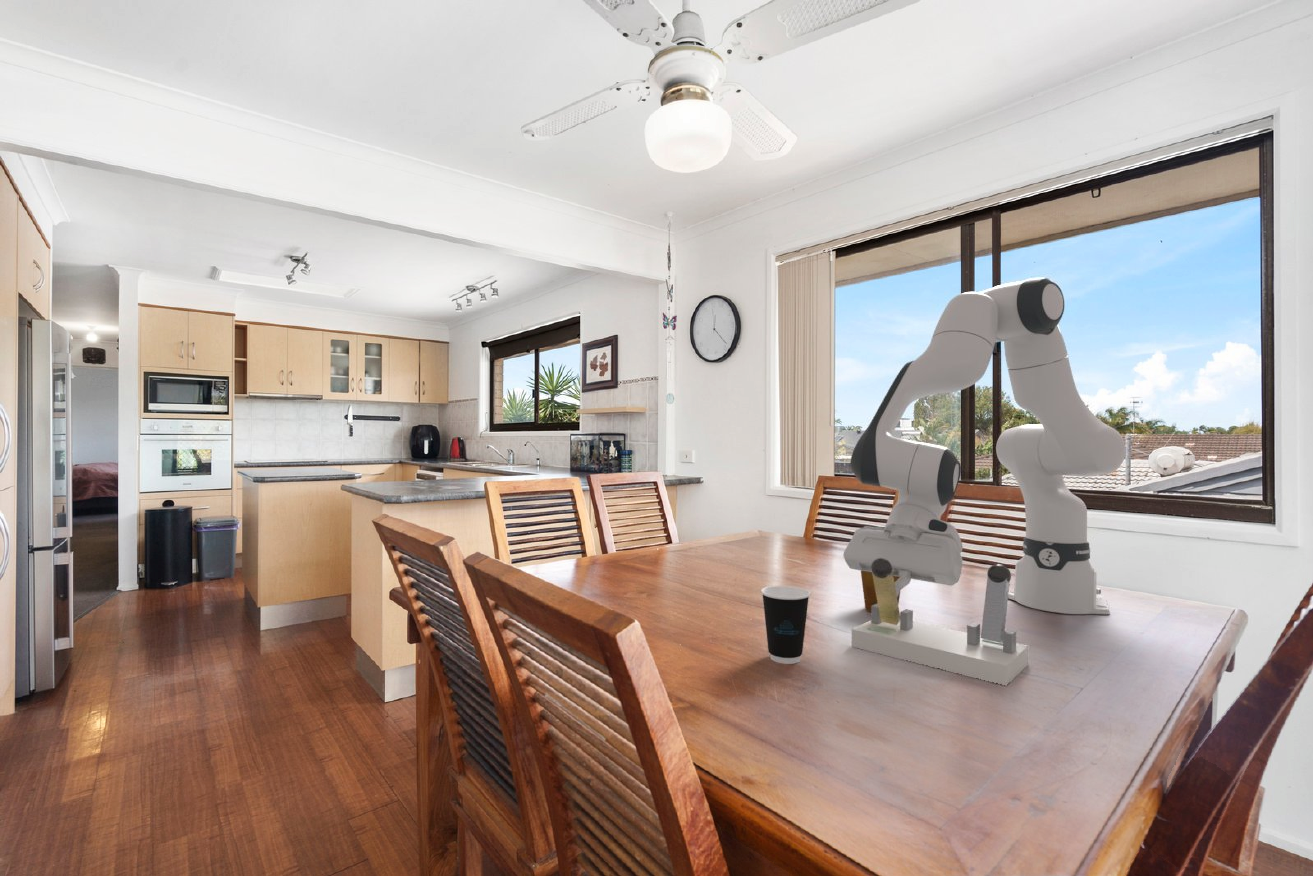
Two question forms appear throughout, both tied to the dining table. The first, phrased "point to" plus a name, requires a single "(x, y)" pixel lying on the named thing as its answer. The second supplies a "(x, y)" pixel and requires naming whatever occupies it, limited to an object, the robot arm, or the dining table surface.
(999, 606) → the steel lever
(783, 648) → the dixie cup
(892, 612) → the brass lever
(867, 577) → the disposable coffee cup
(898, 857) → the dining table surface
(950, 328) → the robot arm
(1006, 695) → the dining table surface
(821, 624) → the dining table surface
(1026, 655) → the switch panel
